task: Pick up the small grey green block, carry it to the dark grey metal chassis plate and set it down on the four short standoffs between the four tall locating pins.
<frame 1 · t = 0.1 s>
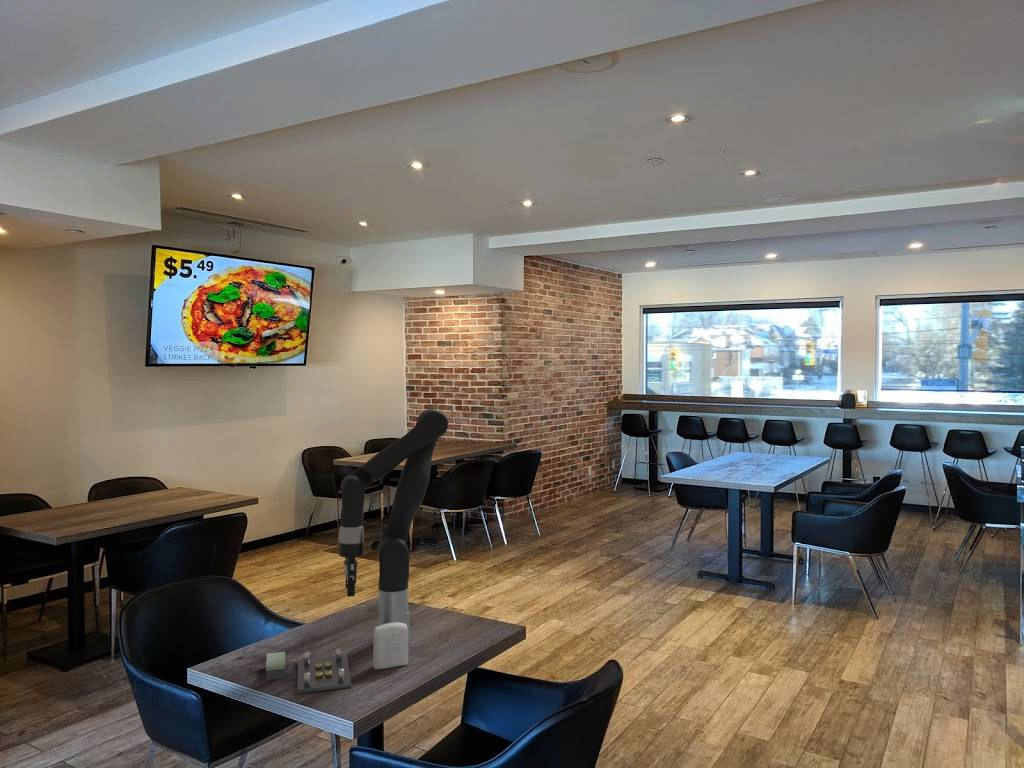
hand: (349, 592, 223), 17 cm above the table, tool pointing down, fingers open, 8 cm apart
photo printer: (391, 666, 209), on the table
chassis: (323, 674, 203), on the table
grey green block: (275, 673, 205), on the table
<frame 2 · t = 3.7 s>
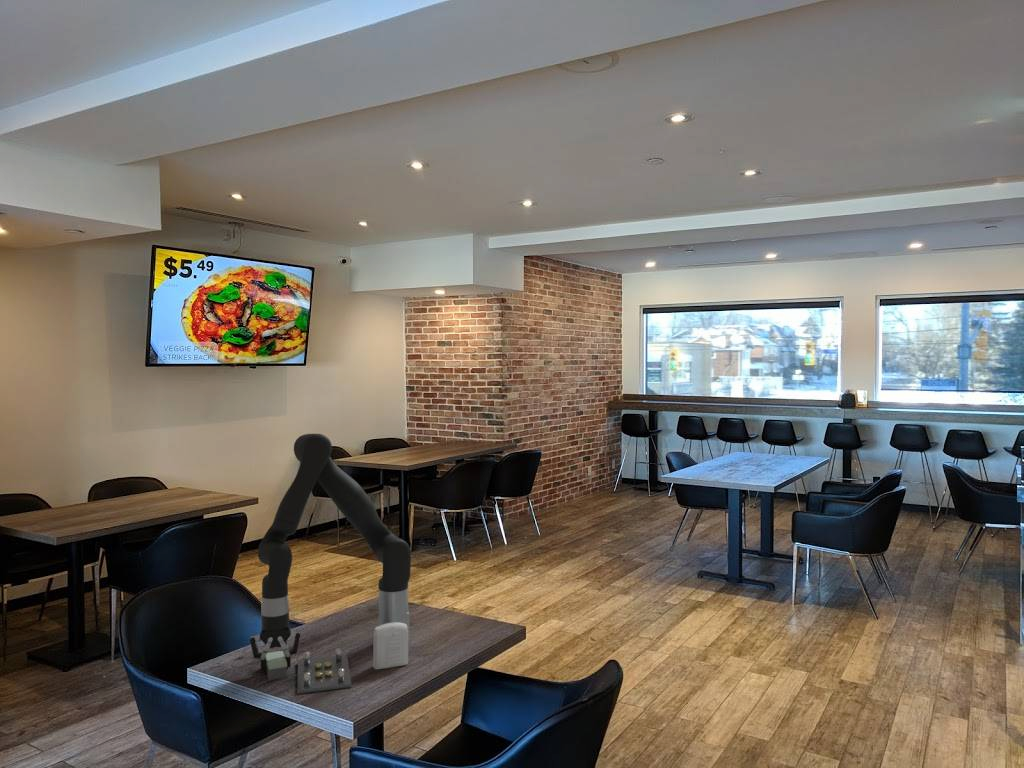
hand: (275, 669, 205), 1 cm above the table, tool pointing down, fingers closed on grey green block, 5 cm apart
grey green block: (275, 672, 205), on the table, touching gripper
everything else where it was.
when the fingers open (3 cm above the table, at t = 8.5 s): grey green block stays where it is, resting on chassis.
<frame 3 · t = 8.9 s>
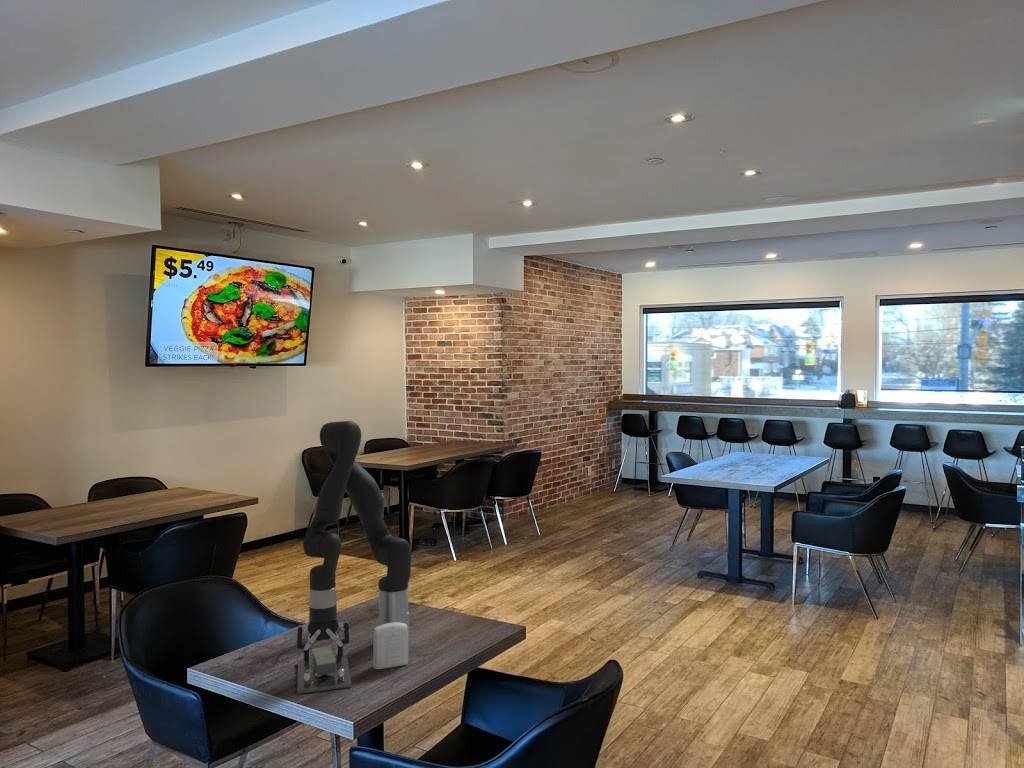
hand: (323, 660, 203), 4 cm above the table, tool pointing down, fingers open, 8 cm apart
grey green block: (323, 667, 203), point 2 cm above the table, touching chassis
everything else where it was.
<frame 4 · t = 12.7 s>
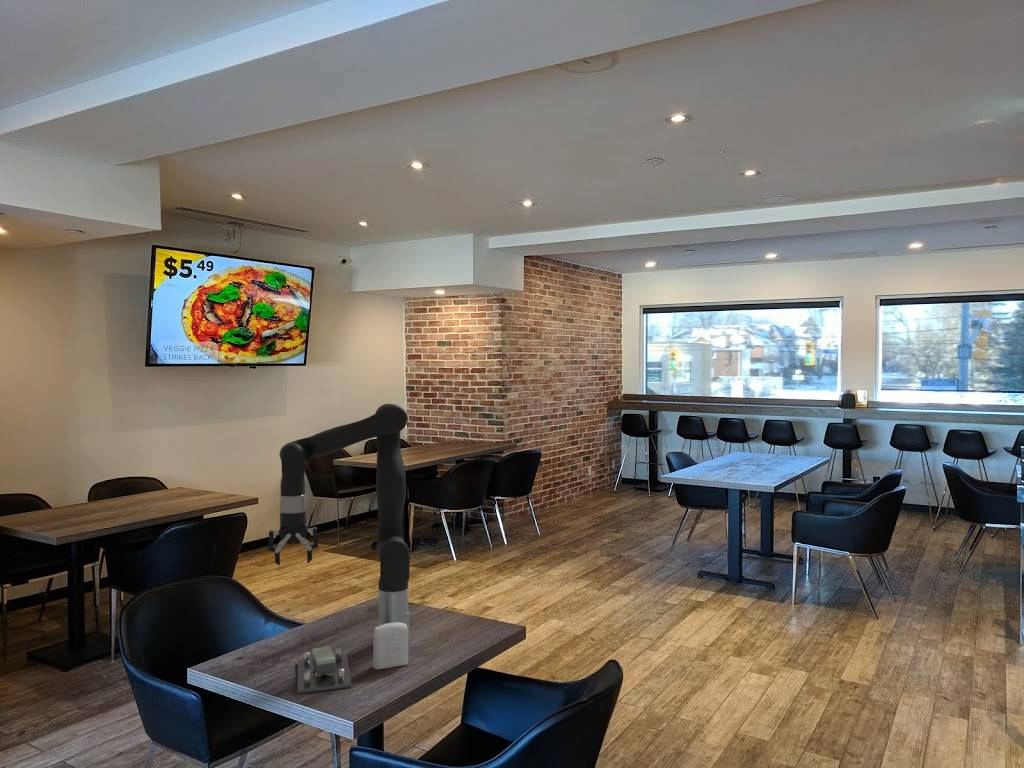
hand: (293, 563, 216), 28 cm above the table, tool pointing down, fingers open, 8 cm apart
nothing on the table moved.
at the end: grey green block 0.0 cm off-centre on the chassis, point 2.0 cm above the chassis's base; grey green block tilted 0°; the gripper is holding nothing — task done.
